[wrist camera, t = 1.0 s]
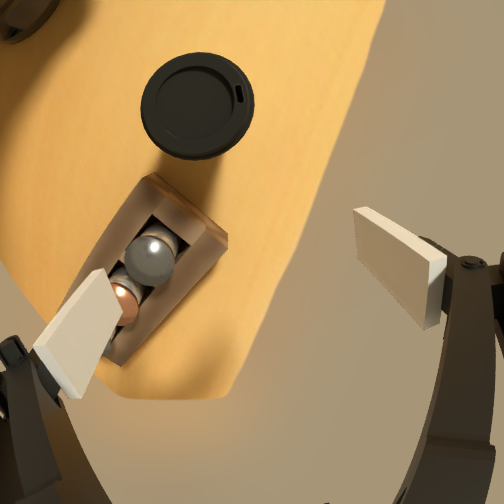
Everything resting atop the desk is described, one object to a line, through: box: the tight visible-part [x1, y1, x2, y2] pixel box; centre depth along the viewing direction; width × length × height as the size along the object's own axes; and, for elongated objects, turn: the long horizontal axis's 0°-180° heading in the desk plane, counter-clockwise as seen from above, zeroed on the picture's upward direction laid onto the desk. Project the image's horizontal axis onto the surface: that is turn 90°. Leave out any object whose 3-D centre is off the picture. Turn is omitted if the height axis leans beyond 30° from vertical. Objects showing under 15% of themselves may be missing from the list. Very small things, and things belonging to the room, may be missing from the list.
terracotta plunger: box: [109, 264, 147, 326], centre depth 36 cm, size 6×6×7 cm
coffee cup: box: [140, 52, 255, 161], centre depth 28 cm, size 10×10×15 cm
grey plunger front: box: [124, 222, 180, 286], centre depth 34 cm, size 6×6×7 cm
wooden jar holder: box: [56, 172, 228, 367], centre depth 39 cm, size 13×26×6 cm, turn 137°
